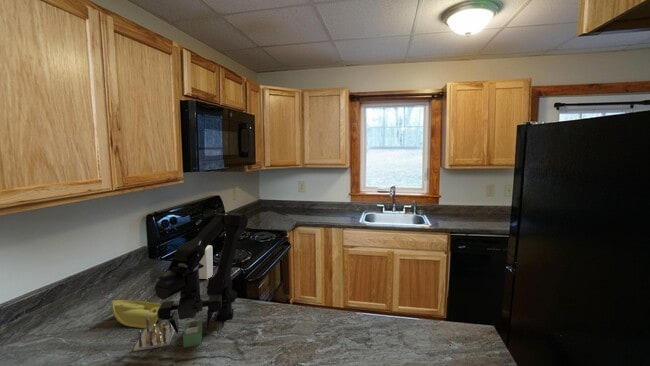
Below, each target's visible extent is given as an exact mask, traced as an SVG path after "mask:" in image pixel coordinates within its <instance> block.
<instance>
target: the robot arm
mask: <svg viewBox="0 0 650 366" xmlns="http://www.w3.org/2000/svg"><path fill="white" fill-rule="evenodd" d="M248 221H249V220H248V217H247V215H246V214H244V213H231V212H230V213H229V214H228V213H216V214H215V215H214V216H213V218H212V219H211V220H210V222H209V223H207V225H206V226H205V227H204V228H203V229H202V230H201V231H200V232H199V233H198V234H197V235H196V237H194V238H192V239H191V240H189V241H187V242H185V243H183V244H181V246H179V247H178V248H177V249H176V251H175V253H174V256H173V258H172V260H171V262H170V264H169V266H168V269H167V272H168V273H166V274H162V275H160V276H159V277H158V281H156V282H155V286H154V292H155V295H156V296H157V297H158V298H159V299H160V300H167V299H169V298H170V297H172V296H174V295H176V294H178V293H180V294H179V301H178V303H176V300H170V301H163V302H162V303H160V304H161V306H160V307H159V309H158V312H157V315H158V320H159V319H161V320H163V321H168V323H169V322H170V323H171V324H172V326H173V328H174V330H175V332H174V333H176V334H179V332H180V330H179V329H180V327H179V320H184V319H194V318H195V317H196V315H197V314H198V313H199V312H202V311H203V308H206V307H207V312H206V313H207V314H206V315H207V316H206V329H207V330H208V329H209V326H210V324H211V320H212V317H213V314H214V313H215V316H214V321H215V322H216V321H217V322H218V321H223V320H224V321H225V320H230V319H233V318H234V311H235V310H234V309H235V308H233V303H235V301H236V300H237V296H238V292H237V291H236V290H234V289H233V279H232V277H231V273H232V269H233V264H234V261H235V256H236V251H237V247H238V244H239V241H240V237H241V236H242V235H243V234H244V233H245V231H246V229H247V225H248V224H249V222H248ZM223 229H224V231H225V239H224V241H223V242H224V243H223V247H222V250H221V254H220V258H219V262H218V266H217V271H216V273H215V275H214V274H213V276H211V277H210V278H209V279H208V280H207V281H208V282H207V285H206V287H205V288H206V295H207V297H208V299H206V300H203V299H202V298H201V288H200V287H201V286H200V285H201V284H200V280H199V269H200V268H203V267H204V265H202V264H200V263H199V262H200V261H201V259H202V258H203V256H204V255H205V249H206V247H207V246H208V245H210V244H211V242H212V241H213V240H214V239H215V238H216V237H217V236H218V235H219V233H220V232H222V231H223Z"/></svg>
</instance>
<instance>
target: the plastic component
mask: <svg viewBox="0 0 650 366" xmlns="http://www.w3.org/2000/svg"><path fill="white" fill-rule="evenodd" d="M161 304H162V303H158V302H157V303H156V302H148V301H140V300H132V299H131V300H128V299H127V300H126V299H117V300H114V299H113V300H112V301H111V303H110V306H111V311H112V314H113V316H114V318H115V319H116V320H117V321H118V322H119V323H120V324H121V325H124V326H126V327H131V328H132V327H133V328H139V329H147V327H146V318H149V328H151V324H154V323H156V324H157V322H158V320H159V318H158V315H157V312H158V309H159V307H160V306H161Z"/></svg>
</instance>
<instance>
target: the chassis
mask: <svg viewBox="0 0 650 366" xmlns="http://www.w3.org/2000/svg"><path fill="white" fill-rule="evenodd" d="M146 327H147V329H146V328H144V330H143V332H142V330H138V331H137V337H138V340H137V342H136V343H135V345H134V347H133V348H132V351H133V352H138V351H143V350H150V349H156V348H162V347H168V346H170V343H171V341H172V339H173V336H174V334H175V333H176V332H175V330H174V328H173V326H172V324H171V323H170V322H169V321H168V325H167V323H166V321H163V322H162V318H161V319H159V318H158V326H157V322H156V323H154V324H151V328H149V318H146Z"/></svg>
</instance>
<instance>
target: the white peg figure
mask: <svg viewBox="0 0 650 366" xmlns="http://www.w3.org/2000/svg"><path fill="white" fill-rule="evenodd" d="M213 256H214V255H213V245H210V244H209V245H208V246H207V247H206V249H205V255H204V256H203V258H202V259H201V261H200V262H199V263H200V264H202V265H204V267H203V268H200V269H199V279H207V280H209V279H208V278H210V277H213V276H214V271H213V270H214V269H213V268H214V266H213V265H214V263H213V260H214V259H213V258H214V257H213ZM212 275H213V276H212Z"/></svg>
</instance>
